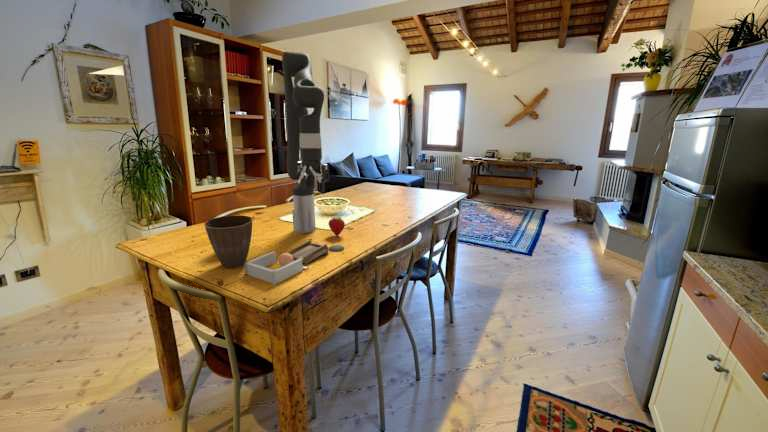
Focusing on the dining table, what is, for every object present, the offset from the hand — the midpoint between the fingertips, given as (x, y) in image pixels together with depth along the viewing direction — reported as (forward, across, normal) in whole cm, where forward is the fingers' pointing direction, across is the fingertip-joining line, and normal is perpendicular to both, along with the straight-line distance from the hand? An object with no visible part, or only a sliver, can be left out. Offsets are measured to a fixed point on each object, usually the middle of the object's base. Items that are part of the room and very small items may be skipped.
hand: (312, 191), depth 123 cm
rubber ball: (+22, 0, -15) cm, 26 cm away
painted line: (+24, 0, -12) cm, 27 cm away
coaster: (+24, +4, +8) cm, 26 cm away
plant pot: (+24, -17, -24) cm, 38 cm away
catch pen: (+24, 0, -20) cm, 32 cm away
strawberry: (+24, -6, +20) cm, 32 cm away
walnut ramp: (+24, 0, -4) cm, 25 cm away
